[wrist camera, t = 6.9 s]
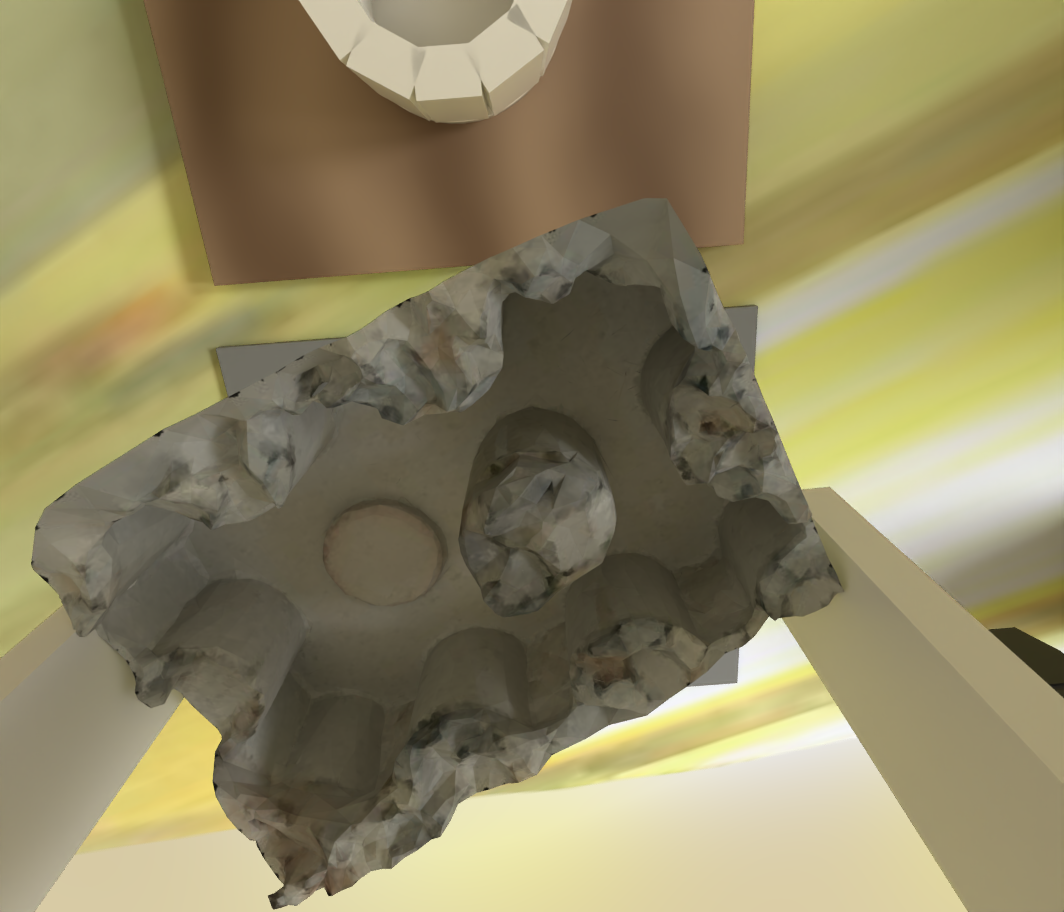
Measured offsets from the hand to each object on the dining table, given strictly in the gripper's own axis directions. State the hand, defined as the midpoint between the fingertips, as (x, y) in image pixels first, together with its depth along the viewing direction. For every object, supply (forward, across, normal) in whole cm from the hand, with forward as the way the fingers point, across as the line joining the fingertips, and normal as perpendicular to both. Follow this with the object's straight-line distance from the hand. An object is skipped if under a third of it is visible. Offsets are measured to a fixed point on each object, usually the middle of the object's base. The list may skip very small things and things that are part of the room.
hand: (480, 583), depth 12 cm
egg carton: (+1, 0, +2) cm, 2 cm away
